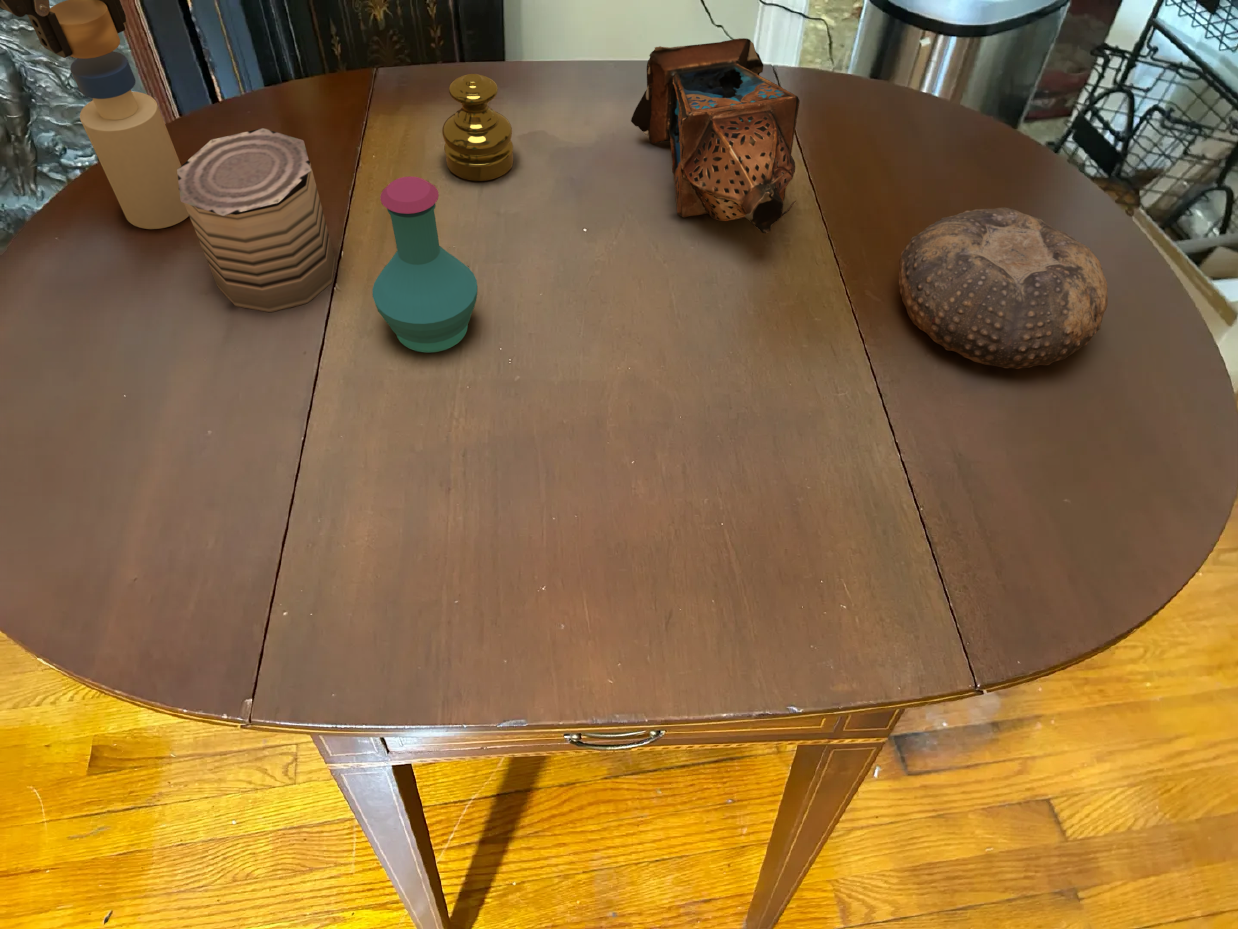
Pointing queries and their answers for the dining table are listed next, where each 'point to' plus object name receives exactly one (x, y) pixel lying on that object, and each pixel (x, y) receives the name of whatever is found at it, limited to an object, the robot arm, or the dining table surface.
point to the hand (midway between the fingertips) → (88, 40)
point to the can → (259, 219)
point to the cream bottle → (130, 142)
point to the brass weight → (477, 132)
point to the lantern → (721, 130)
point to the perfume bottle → (422, 274)
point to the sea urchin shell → (1002, 288)
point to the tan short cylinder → (87, 27)
